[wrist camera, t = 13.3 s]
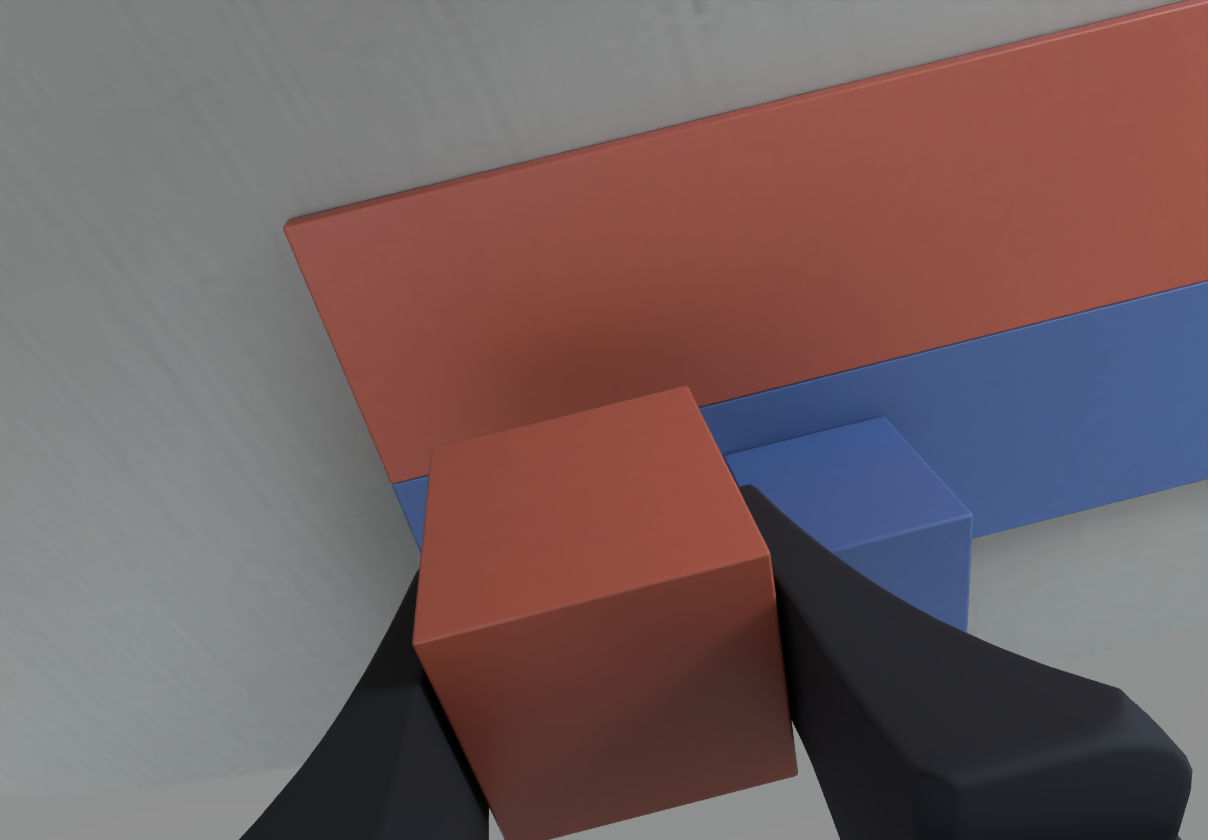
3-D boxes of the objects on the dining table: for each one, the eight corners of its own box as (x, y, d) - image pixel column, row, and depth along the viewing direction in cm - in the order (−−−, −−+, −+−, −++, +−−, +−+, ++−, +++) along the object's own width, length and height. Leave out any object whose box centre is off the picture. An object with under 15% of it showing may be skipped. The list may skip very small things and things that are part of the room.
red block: (720, 578, 16) (799, 777, 12) (501, 633, 16) (508, 852, 12) (687, 383, 14) (771, 552, 10) (430, 448, 14) (410, 643, 10)
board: (1686, 344, 25) (1711, 352, 25) (468, 652, 25) (468, 667, 24) (1990, -197, 18) (2034, -201, 18) (287, 219, 18) (281, 226, 17)
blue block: (887, 541, 24) (968, 655, 20) (740, 578, 24) (791, 699, 20) (883, 414, 22) (974, 514, 18) (721, 454, 22) (775, 564, 18)
